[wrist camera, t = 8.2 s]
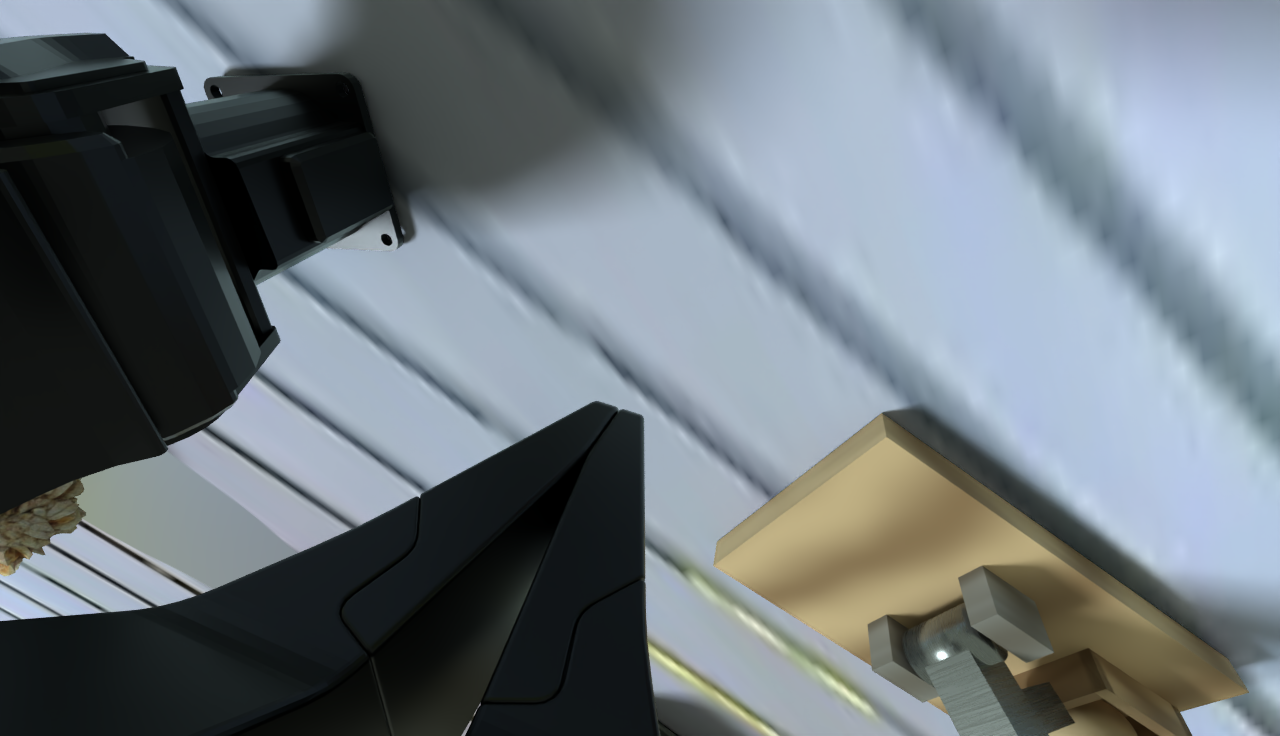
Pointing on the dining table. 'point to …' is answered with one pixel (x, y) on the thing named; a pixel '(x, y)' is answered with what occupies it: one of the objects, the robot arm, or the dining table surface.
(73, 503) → the pine cone
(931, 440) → the dining table surface
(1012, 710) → the lever
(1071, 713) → the beige ball
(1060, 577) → the base
